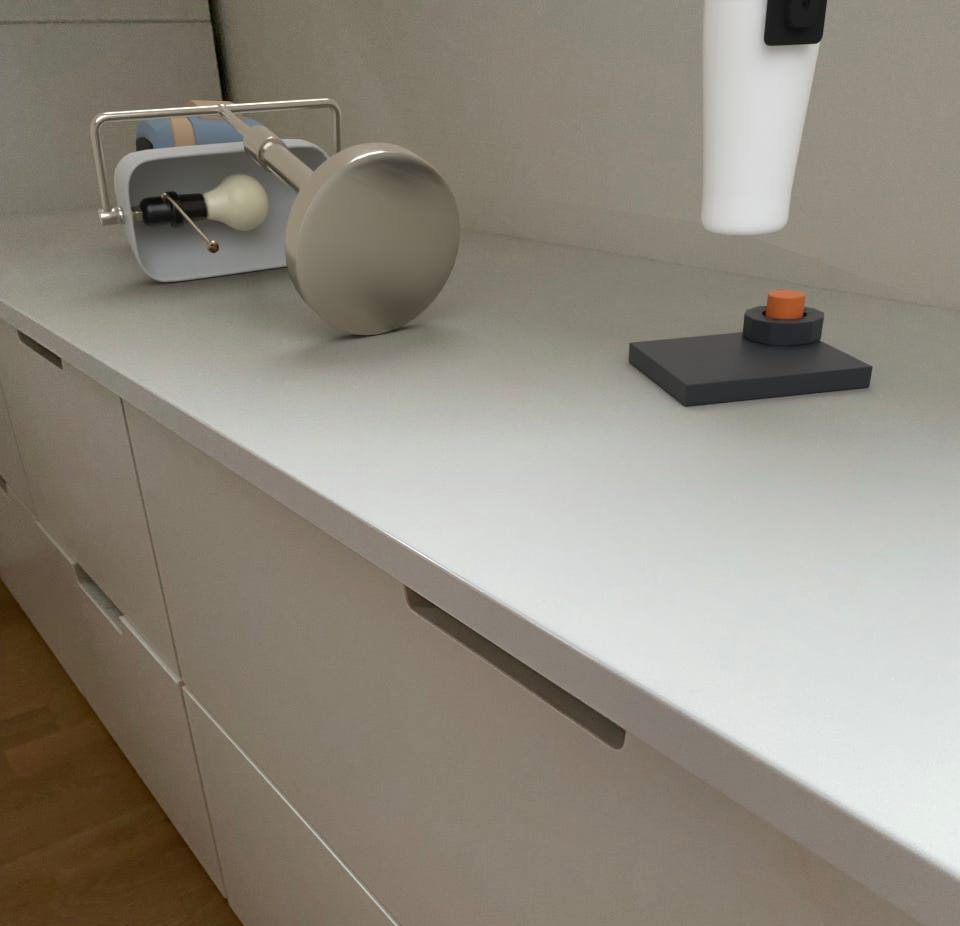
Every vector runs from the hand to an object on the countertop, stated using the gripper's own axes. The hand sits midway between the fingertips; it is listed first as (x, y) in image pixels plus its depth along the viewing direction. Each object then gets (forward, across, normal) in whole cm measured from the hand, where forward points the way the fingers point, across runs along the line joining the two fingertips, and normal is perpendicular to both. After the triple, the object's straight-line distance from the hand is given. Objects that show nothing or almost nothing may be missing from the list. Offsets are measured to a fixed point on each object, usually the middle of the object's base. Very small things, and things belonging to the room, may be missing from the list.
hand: (761, 42), depth 56 cm
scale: (+20, -2, +2) cm, 20 cm away
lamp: (+20, -39, -27) cm, 52 cm away
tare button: (+17, -6, +6) cm, 19 cm away
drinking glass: (+10, 0, 0) cm, 10 cm away
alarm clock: (+20, -76, -35) cm, 86 cm away
